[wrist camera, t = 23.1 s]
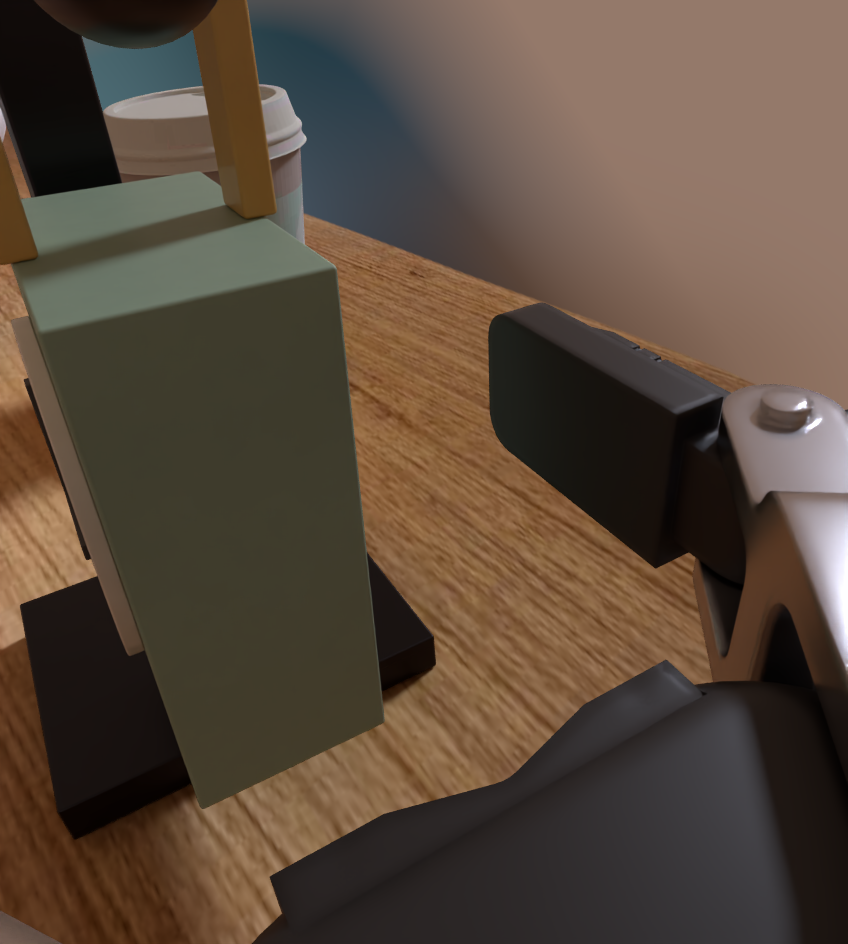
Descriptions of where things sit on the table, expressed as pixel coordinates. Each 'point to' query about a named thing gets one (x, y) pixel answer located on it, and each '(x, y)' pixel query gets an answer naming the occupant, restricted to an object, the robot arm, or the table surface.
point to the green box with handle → (207, 437)
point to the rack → (84, 604)
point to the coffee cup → (205, 143)
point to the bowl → (2, 126)
